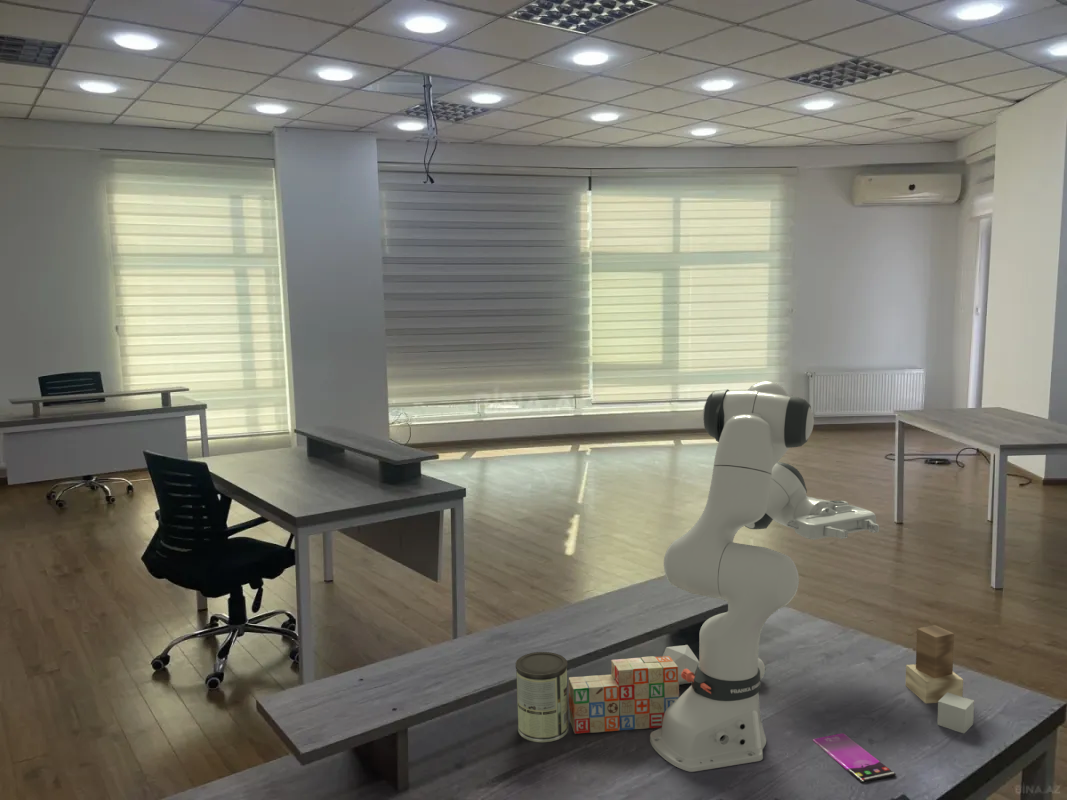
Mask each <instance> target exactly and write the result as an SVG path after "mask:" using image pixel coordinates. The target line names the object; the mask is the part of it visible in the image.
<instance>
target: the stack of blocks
mask: <svg viewBox="0 0 1067 800" xmlns="http://www.w3.org/2000/svg"><path fill="white" fill-rule="evenodd" d="M610 662H611V667H610V668H611V670H610V671H611V674H601V675H586V676H585V675H584V676H570V677H568V707H569V708H568V711H569V712H568V714H569V722H570V725H571V728H572V730H573V733H574V734H575V735H576V734H578V735H579V734H585V733H586V734H588V733H589V734H590V733H603V732H616V731H617V732H618V731H629V730H642V729H645V730H646V729H656V728H657V729H660V728H662V723H663V717H664V713H665V711H666V709H667V708H668V707H669V706H670V705H672V704H673V703H674V702H675V701H676V700H677V699H678V698H679V697H680V690H679V689H680V685H679V682H678V666H677V665H676V664H675V662H674V661H673V660H672V659H671V658H670V656H664V657H662V656H655V655H654V656H653V655H652V656H642V657H641V656H640V657H632V658H631V657H630V658H620V659H611V660H610Z"/></svg>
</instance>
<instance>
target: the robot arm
mask: <svg viewBox="0 0 1067 800" xmlns="http://www.w3.org/2000/svg"><path fill="white" fill-rule="evenodd" d="M814 418H815V416H814V413H813V411H812V405H811V404H810V403H809V402H808V401H807V400H806V399H804V398H801V397H800V396H796V395H791V396H789V394H788V393H787V391H786V389H785V388H784V387H783V386H782V385H780V384H779V383H778V382H777V383H776V382H774V381H769V380H766V381H765V380H764V381H759V382H756V383H755V384H753V385H751V386H750V387H749V388H748V389H747V390H742V389H741V390H729V389H727V388H726V389H719V390H714V391H712V392H711V393H710V394H709V395H708V397H707V398H706V401H705V403H704V406H703V409H702V421H703V426H704V429H705V431H706V433H707V434H709V436H710V437H712V438H713V439H715V441H716V442H718V443H717V444H718V445H717V447H716V451H715V456H714V463H713V469H712V473H711V474H712V475H711V481H710V486H709V490H708V491H709V492H708V496H707V501H706V504H705V507H704V509H703V511H702V513H701V515H700V517H699V518H698V520H697V521H696V523H695V524H694V525H693V526H692V527H691V529H689V530H688V531H687V532H685V534H683V535H682V536H679V537H678V538H676V539H675V540H673V541H672V543H671V544H670V545H669V546H668V548H667V549H666V552H665V554H664V556H663V557H664V558H663V570H664V571H663V572H664V573H665V577H666V578H667V581H668V582H669V584H670V585H671V586H673V587H675V588H677V589H680V590H682V591H684V592H687V593H690V594H692V595H697V596H702V597H706V598H711V599H712V598H713V599H717V600H722V601H725V602H727V611H726V612H722V613H718V614H715V615H713V616H710V617H709V618H707V619H706V620H705V621H704V622H703V623H702V626H701V627H700V628H699V629H700V630H699V632H698V633H699V639H698V640H699V642H698V643H699V645H698V646H699V648H698V650H699V652H698V653H699V656H698V658H699V659H698V660H699V664H698V666H697V668H696V671H695V674H694V673H693V672H690V670H688V669H684V670H683V672H681V673H682V674H681V677H682V678H683V679H685V680H686V681H687V682H692V683H690V684H691V685H690V686H689V687H688V688H687V689H686V690H685V691H684V692H683V693H682V694H681V695H679V698H678V699H677V700H676V701H675V702H674V703H673V704H672V705H670V706H669V707H668V708H667V709H666V711H665V713H664V717H663V723H662V727H661V728H657V729H656V730H654V731H651V732H650V735H649V742H650V745H651V747H652V748H653V750H655V752H656V753H657V754H659V755H660V757H662V758H663V759H664V760H666V762H668V763H669V764H671V765H673V766H674V767H677V768H678V769H681V770H683V771H685V772H689V773H694V772H700V771H707V770H713V769H718V768H725V767H731V766H736V765H742V764H748V763H756V762H760V761H762V760H763V759H764V753H763V750H764V748H765V746H766V744H767V737H766V734H765V730H764V727H763V726H764V725H763V721H762V716H761V715H762V714H761V710H760V709H761V708H760V699H759V697H760V696H759V692H760V691H761V679H760V669H759V668H758V658H759V652H760V651H759V648H760V639H761V633H762V630H763V628H764V626H765V624H766V622H767V621H768V619H769V618H770V617H771V616H772V615H773V614H774V613H775V612H777V611H778V610H779V609H780V610H781V609H782V608H784V607H785V606H786V605H788V604H790V602H791V601H792V600H793V599H794V597H795V596H796V594H797V591H798V589H799V583H800V575H799V571H798V569H797V566H796V563H795V562H794V560H793V559H792V558H791V556H790V555H787V554H785V553H783V552H779V551H778V550H774V549H771V548H768V547H765V546H764V547H763V546H758V545H752V544H751V545H750V544H745V543H739V542H734V538H735V536H736V534H737V533H738V531H740V529H742V528H744V527H745V528H746V529H750V530H763V529H764V530H766V529H767V528H768V527H769V526H770V525H771V523H772V522H773V521H774V522H775V523H778V524H779V525H782V526H784V527H786V528H789V529H793V530H794V532H795V534H797V535H798V536H801V537H803V538H805V539H808V540H813V541H815V540H820V539H826V538H837V539H841V540H843V539H847V538H849V535H848V534H852V533H858V532H864V531H868V532H869V533H872V534H875V533H879V532H880V525H879V524H878V523H877V516H876V514H875V512H873V511H871V510H869V509H866V508H863V507H859V506H856V505H851V504H850V505H849V502H848V501H846V500H825V499H821V498H820V499H819V498H816V497H814V496H813V497H812V496H808V495H807V493H808V490H807V487H806V486H807V485H806V483H805V479H804V477H803V475H802V474H801V472H800V471H799V470H798V469H797V468H796V467H795V466H794V465H791V464H789V463H785V462H783V461H782V462H781V461H780V460H781V459H782V457H784V456H785V455H786V453H787V452H788V450H789V449H790V448H791V449H792V448H799V447H802V446H803V445H805V444H806V443H807V442H808V440H809V438H810V436H811V435H812V432H813V428H814V424H815V421H814V420H815V419H814Z"/></svg>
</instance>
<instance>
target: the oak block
mask: <svg viewBox="0 0 1067 800" xmlns="http://www.w3.org/2000/svg"><path fill="white" fill-rule="evenodd" d="M904 685H905V686H906V688H908V690H910V691H911V693H913V694H914V695H915V696H917V697H918V698H919V699H920V700H921V701H922V702H923V703H924V704H938V701H939V700H940V699H941V698H942V697H943V696H944V695H945V694H946V693H947V692H948V693H951V694H954V695H958V696H961V697H963V695H964V693H963V692H964V691H963V690H964V679H963V678H962V677H961V676H960V675H958V674H956V672H955V671H953V674H951V675H947V676H942V677H938V678H933V677H931V676H929V675H927V674H925V673H923V672H921V671H919V670H917V669H916V663H915V664H914V663H913V664H906V665H905V684H904Z"/></svg>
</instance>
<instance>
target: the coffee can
mask: <svg viewBox="0 0 1067 800" xmlns="http://www.w3.org/2000/svg"><path fill="white" fill-rule="evenodd" d="M567 668H568V660H567V659H566V658H565V656H563V655H561V654H558V653H556V652H552V651H551V652H550V651H536V652H529V653H526V654H525V655H522V656H520V657H519V658H517V659H516V662H515V670H516V696H517V697H516V698H517V702H516V703H517V731H518V732H517V733H518V734H519V735H520V736H521V738H523V739H524V740H527V741H529V742H534V743H550V742H551V743H552V742H555V741H558V740H560V739H562V738H564V737H565V736H566V735H567V734H568V732H569V727H570V726H569V712H568V711H569V708H568V707H569V701H568V670H567Z"/></svg>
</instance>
